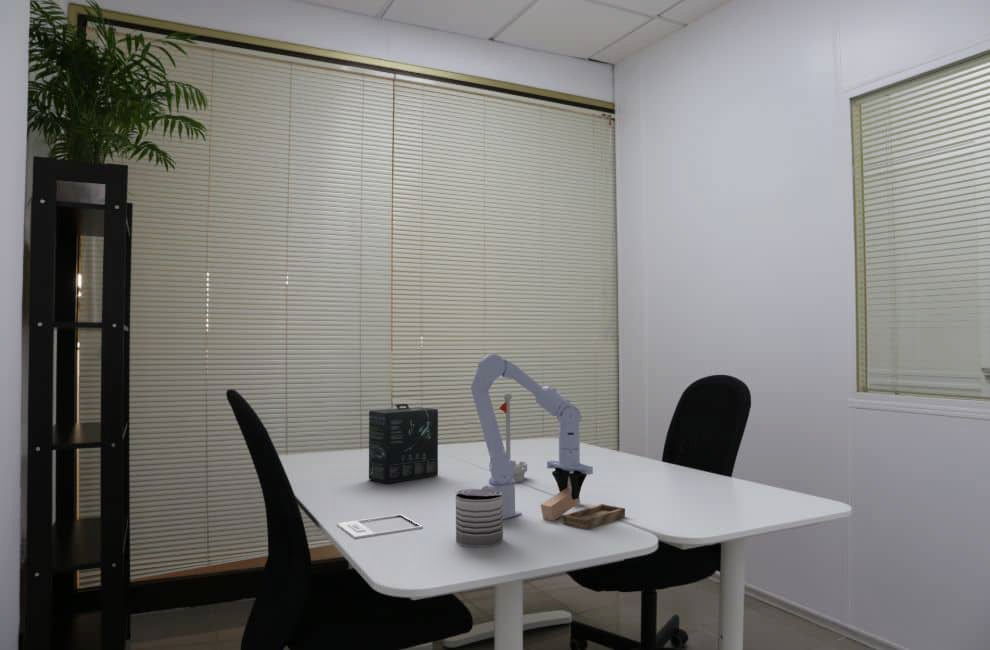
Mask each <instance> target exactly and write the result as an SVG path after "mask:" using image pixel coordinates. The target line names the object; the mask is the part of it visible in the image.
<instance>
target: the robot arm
mask: <svg viewBox="0 0 990 650" xmlns="http://www.w3.org/2000/svg"><path fill="white" fill-rule="evenodd" d="M476 366H477V367H476V370H475V372H474V376H473V379H472V382H471V385H470V391H471V395H472V397H473V401H474V405H475V409H476V412H477V416H478V420H479V423H480V426H481V430H482V433H483V436H484V441H485V444H486V447H487V452H488V455H489V458H490V461H489V466H488V467H489V471H491V472H490V474H491V477H490V478H488V482H487V484H486V485H484V486H482V488H481V489H483V490H494V491H500V492H503V493H502V503H503V520H505V519H510V518H512V517H516V516H521V515H523V512H521V511H517V510H516V482H515V480H514V479H512V478H513V476H514V467H513V465H512V464H511V461H510V460H511V458H510V459H509V458H508V457H507V455H506V448H505V446H504V443H503V439H502V436H501V432H500V428H499V425H498V421H497V418H496V414H495V411H494V407H493V404H492V399H491V396H490V393H489V390H490V388H492V386H493V384H494V381H496V380H497V379H498V378H499V377H503V378H504V379H505V378H506V379H512V380H513V381H515V382H517V383H518V384H519V385H521V386H522V387H523V388H525V389H526V390H527V391H529V392H530V393H532V394H533V395H534V396H535V402H536V404H538V405H539V406H540V407H541V408H543V409H544V410H545V411H546V412H548V413H549V414H550V415H552V416H553V417H556V419H557V421H558V425H559V426H558V460H548V461H546V468H547V469H554V471H553V470H552V471H551V474H552V476H553V478H554V480H555V482H556V485H557V488H558V491H559V492H561V491H562V490H564V489H565V488H567V487H568V478H570V482H571V490H572V499H578V498H580V493H581V490H582V487H583V483H584V481H585V479H586V477H588V475H592V474H594V471H593V470H594V469H593V466H591V465H586V464H583V463H581V460H580V457H581V454H580V453H581V452H580V447H581V446H580V445H581V443H580V440H581V439H580V425H579V424H580V422H581V420H582V415H581V412H580V410H579V407H577V406H575V405H573V404H572V403H570V402H571V400H570V399H569V398H564V397H563V396H562V395H561V394H559V393H558V392H557V391H558V390H557V389H556V387H554V386H553V387H551V386H549V385H545V386H542V385H540V384H539V383H538V382H537V381H535V380H534V378H532V377H530V375H528V374H527V373H526V372H525V371H523V370H522V369H521V368H520V367H518V366H517V365H516V364H514V363H513V362H511V361H508V360H507V359H504V358H503V357H502V356H501V355H498V354H496V353H489V354H486V355H484V356H483V358H482V359H481V360H480V361H479V363H478V364H477V365H476ZM570 471H572V472H574V473H570ZM569 473H570V474H569Z"/></svg>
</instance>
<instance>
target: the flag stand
mask: <svg viewBox="0 0 990 650" xmlns="http://www.w3.org/2000/svg"><path fill="white" fill-rule="evenodd" d="M512 398H513V395H512V394H511V392H509V391H506V392H505V393H504V394H503V399H504V401H505V402H504V403H502V404H501V406H500V407H498V409H500V411H502V412H504V413H505V452H506V455H507V457H508V458H509V459H510V461H511V464H512V465H513V467H514V476H513V478H512V479H514V480H515V483H517V482H522V481H524V480H525V474H526V472H527V471H528V463H526V461H521V460H520V461H519V463H516V462H517V461H516V460H513V459H511V399H512ZM489 471H490V470H489ZM490 473H491V471H490Z"/></svg>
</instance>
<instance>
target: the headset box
mask: <svg viewBox="0 0 990 650" xmlns="http://www.w3.org/2000/svg"><path fill="white" fill-rule="evenodd" d="M395 406H396V408H389V409H388V408H386V409H371V410H368V418H369V419H368V480H370V479H371V481H375V482H377V483H378V482H379V483H382V484H390V483H398V482H404V481H411V480H417V479H423V478H425V479H426V478H430V477H436V476H437V477H438V476H439V409H438V408H428V407H420V406H419V407H410V406H409V405H408V403H396V404H395Z"/></svg>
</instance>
